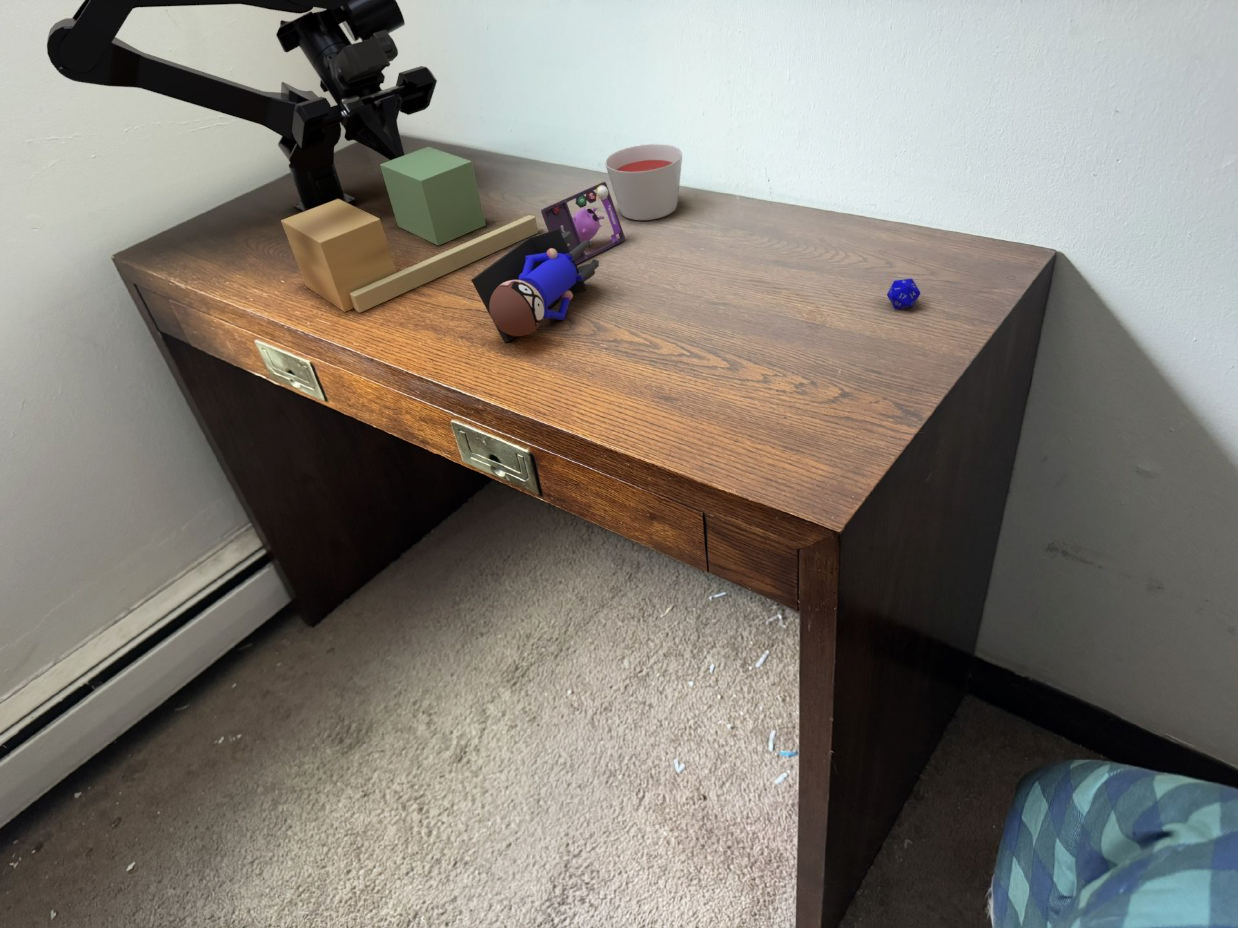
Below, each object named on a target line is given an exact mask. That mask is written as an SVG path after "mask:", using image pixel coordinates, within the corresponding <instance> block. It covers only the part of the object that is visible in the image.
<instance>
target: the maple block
mask: <svg viewBox="0 0 1238 928" xmlns="http://www.w3.org/2000/svg"><path fill="white" fill-rule="evenodd" d="M280 222H281V225H282V227H283V230H284V232H285V235H286V238H287V240H288V243H289V246H290V249H291V251H292V253H293V256H294V259H295V261H296V264H297V267H298V270H299V271H300V275H301V277H302V279H303V282H304V285H305V287H306V288H308V289H309V290H311V291H312V292H313V293H315V294H316V295H318V296H320V297H321V298H322V299H324V300H325V301H327V302H329V303H330V304H332V305H333V306H335V307H336V308H338V309H339V310H341V311H342V312H344V313H347V312H348V311H350V310H353V309H355V308H354V305H353V302H352V300H351V297H350V293H351V292H354V291H356V290H358V289H361V288H363V287H365V286H368V285H370V284H372V283H374V282H377V281H379V280H381V279H384V278H386V277H388V276H390V275H393V274H395V273H397V270H396V266H395V263H394V260H393V256H392V253H391V250H390V247H389V243H388V240H387V236H386V234H385V230H384V227H383V223H382V220H381V219H380V218H379V217H377V216H375V215H374V214H371V213H369V212H367V211H364V210H363V209H361V208H359V207H357V206H354V205H352V204H348V203H346V202H344V201H342V200H340V199H336V200H334V201H331V202H328V203H326V204H323V205H320V206H318V207H315V208H313V209H310V210H307V211H305V212H299V213H297V214H294V215H291V216H289V217H286V218H283V219H281V220H280Z"/></svg>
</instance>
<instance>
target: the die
mask: <svg viewBox="0 0 1238 928" xmlns="http://www.w3.org/2000/svg"><path fill="white" fill-rule="evenodd" d="M920 295H921V291H920V289H919V287H918V286H917V284H916V282H915V281H914V279H913V278H904V279H896V280H893V282H892V284H891V286H890V288H889V289H888V291H887V293H886V297H887V298H888V300H889V301H890V303H891V305H892V307H893V309H895V310H901V309H909V308H913V307H914V306H915V304H916V302H917V300H918V299H919V297H920Z"/></svg>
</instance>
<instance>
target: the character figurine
mask: <svg viewBox="0 0 1238 928" xmlns="http://www.w3.org/2000/svg"><path fill="white" fill-rule="evenodd" d="M572 240H573V237H572V235H571V233H570V232H569V231H568V232H564V233H561V232H560V230H559V229H556V230H553V231H549V232H548V231H547V232H543V233H541V234H537V235H533V236H530V237H528V238H525V239H524V240H522V242H520V243H519V244H518V245H516V246H515V247H513V248H512V249H511V250H510V251H508V252H506V253H505V254H504V255H502V257H500V258H499V259H498V260H495V262H493V263H492V264H490V265H489V266H488V267H486V268H485V269H484V270H483V271H481V272H480V273H478V274H477V275H475V276H474V277H473V278H472V279H470V280H471V283H472V284H473V286H474V288H475V290H476V292H477V294H478V296H479V297H480V299H481V301H482V303H483V305H484V307H485V309H486V311H487V313H488V314H489V316H490V318H491V320H492V322H493V324H494V325H495V327H496V330H497V331H498V333H499V335H500V337H501V340H502V341H503V342H504V343H508V342H509V343H510V342H511V340H513V339H514V338H515V337H523V336H527V335H530V334H532V333H533V332H535V331H536V330H537V329H538V328H539V327H540V325H541V323H542V322H543V320H548V319H555V320H558V321H564V320H565V319H566V314H567V310H568V307H569V304H570V301H571V300H573V297H574V295H577V294H581V293H585V292H588V291H589V288H588V287H587V284H586V281H588V280H590V279H591V278H593V276H594V275H595V274H596V269H597V268H599V266H600V260H597V259H593V260H592V261H591V262H590V263H587V264H582V265H579V266H577V264H576V263H575V261H574V260H575V258H576V257H577V256H579V255H580V254H581V253H582V252H585V251H586V250H588V249H589V248H591V247H592V245H591V244H592V240H589V241H588V240H585V241H583V242H582V243H581V244H580V245H578V246H577V247H576V248H575V249H573V250H572V251H571V252H570V251H569V249H568V247H567V244H569V243H570V242H571V241H572ZM560 299H561V302H560V305H559V309H558V311H554V310H550V309H549V308H551V307H552V306H553V305H554V304H555V303H557V302H558V301H559V300H560Z"/></svg>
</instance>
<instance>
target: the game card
mask: <svg viewBox="0 0 1238 928" xmlns="http://www.w3.org/2000/svg"><path fill="white" fill-rule="evenodd" d="M595 190H596V191H595ZM597 198H598V199H599V200H600V202H601V203H602V205H603V208H604V210H605V212H606V214H607V217H608V220H609V223H610V225H611V229H612V233H613V234H611V235H610V238H611V241H612V242H611V241H610V242H609V243H607V244H605V245H604V246H601V247H599V248H597V249H595V250H593V251H590V252H588V253H586V252H585V251H584V252H582V253H581V254H580V255H579V256H577V257H576V258H575V260H574V261H575V263H576V265H578V264H580V263H582V262H584V261H586V260H588V259H590V258H592V257H594V256H596V255H598V254H600V253H603V252H605V251H606V250H608V249H610V248H612V247H615V246H616V245H618V244H621V243H622V242H625V240H626V236H625V233H624V230H623V227H622V224H621V222H620V219H619V216H618V212H617V210H616V207H615V205H614V202H613V198H612V195H611V193H610V189H609V187H608V185H607V182H606V181H603V182H599V183H598V184H596V185H593V186H590V187H588V188H586V189H584V190H582V191H579V192H576V193H575V194H573V195H570V196H568V197H567V198H564V199H562V200H559V201H557V202H555V203H552V204H551V205H548V206H546V207H544V208H542V209H541V210H540V213H541V215H542V218H543V221H544V223H545V226H546V229H547V232H549V231H553V230H556V229H559V230H560V232H561V233H564V232H568V231H569V232H570V233H571V235H572V237H573V240H572V241H571V242H570V243H569V244H567V247H568V249H569V251H570V252H571V251H572V250H573V249H575V248H576V247H577V246H578V245H580V244H581V243H582V242H583V241H585V240H588V241H592V239H593V238H594V237H595V236H596V235H597V233H598V231H599V230H600V229H601V228H602V227H604V225H603V224H601V223H600V220H604V219H605V216H602V215H599V216H598V214H596V211H597V210H598V207H594V208H590V206H588V207H586V206H587V203H589V204H594V203H595V202H597ZM574 200H575V205H577V206H578V207H579V208H580V210H578V211H577V212H576V213H575V214H574V215H573V216H572V214H571V210H570V207H569V205H568V203H569V202H571V201H574ZM581 208H582V209H581ZM617 235H618V237H619V238H618V237H617Z"/></svg>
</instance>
